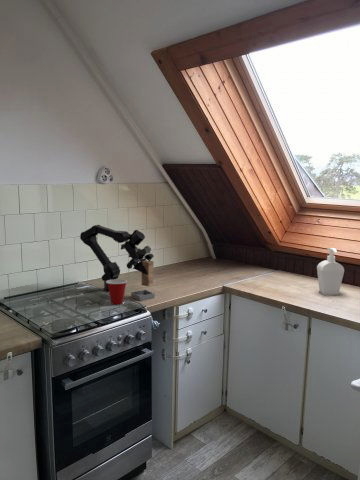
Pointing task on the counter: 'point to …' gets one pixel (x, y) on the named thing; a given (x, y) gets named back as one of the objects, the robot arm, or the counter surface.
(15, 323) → the counter surface
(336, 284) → the soap bottle
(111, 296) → the plastic cup
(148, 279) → the walnut block
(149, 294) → the tray
